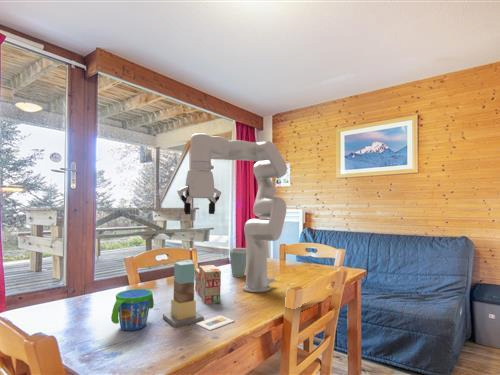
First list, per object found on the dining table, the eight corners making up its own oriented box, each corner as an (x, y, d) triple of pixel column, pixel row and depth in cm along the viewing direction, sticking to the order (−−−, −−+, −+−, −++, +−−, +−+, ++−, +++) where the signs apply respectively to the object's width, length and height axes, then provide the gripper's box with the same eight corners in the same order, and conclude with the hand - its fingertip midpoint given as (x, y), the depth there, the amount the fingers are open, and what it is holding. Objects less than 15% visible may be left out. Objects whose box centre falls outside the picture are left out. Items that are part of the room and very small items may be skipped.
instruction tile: (220, 316, 103) (220, 314, 103) (234, 321, 98) (234, 320, 98) (195, 324, 95) (195, 322, 95) (209, 330, 91) (209, 329, 91)
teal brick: (188, 278, 104) (188, 261, 104) (194, 281, 100) (194, 263, 100) (174, 280, 101) (174, 262, 101) (179, 284, 97) (180, 265, 97)
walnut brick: (187, 296, 104) (187, 278, 104) (193, 300, 100) (194, 281, 100) (173, 299, 101) (173, 280, 101) (179, 303, 97) (180, 284, 97)
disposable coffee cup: (226, 274, 166) (227, 246, 167) (245, 273, 169) (245, 246, 170) (231, 278, 156) (231, 249, 156) (251, 277, 159) (251, 248, 160)
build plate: (190, 311, 107) (190, 293, 107) (203, 320, 99) (204, 301, 99) (162, 317, 101) (163, 298, 101) (174, 327, 93) (175, 306, 93)
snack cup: (141, 315, 103) (142, 285, 103) (164, 321, 98) (165, 289, 98) (99, 332, 89) (100, 297, 90) (123, 340, 84) (124, 302, 85)
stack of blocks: (194, 289, 135) (195, 261, 136) (208, 288, 138) (208, 261, 138) (204, 304, 115) (205, 271, 116) (220, 302, 118) (221, 270, 118)
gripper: (216, 170, 120) (215, 213, 119) (174, 166, 110) (173, 214, 108) (225, 168, 114) (225, 214, 113) (182, 164, 104) (181, 214, 102)
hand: (199, 214), depth 111 cm, fingers open, 9 cm apart
